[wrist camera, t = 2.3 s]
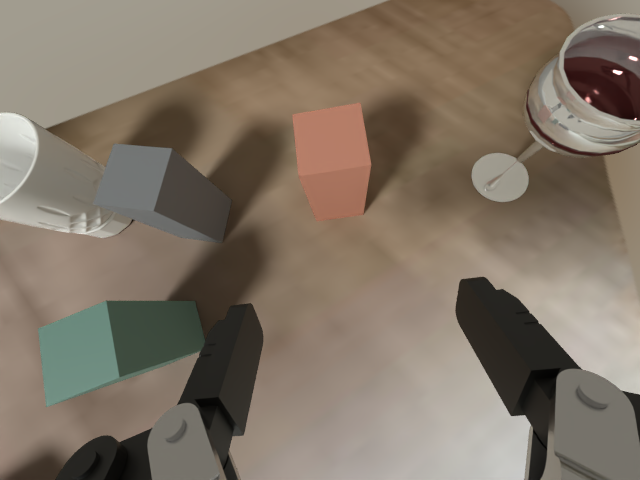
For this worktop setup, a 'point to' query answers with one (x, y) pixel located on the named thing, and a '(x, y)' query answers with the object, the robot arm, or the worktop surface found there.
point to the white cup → (50, 182)
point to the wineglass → (576, 104)
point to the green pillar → (115, 344)
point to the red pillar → (333, 160)
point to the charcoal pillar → (163, 193)
